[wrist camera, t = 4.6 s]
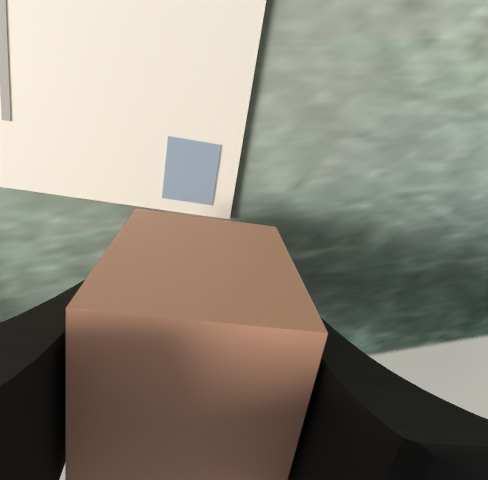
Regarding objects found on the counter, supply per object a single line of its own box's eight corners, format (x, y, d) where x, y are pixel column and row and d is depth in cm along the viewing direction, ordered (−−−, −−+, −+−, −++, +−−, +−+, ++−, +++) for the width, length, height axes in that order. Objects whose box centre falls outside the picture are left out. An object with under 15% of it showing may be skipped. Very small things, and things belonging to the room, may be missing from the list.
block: (127, 330, 13) (65, 499, 8) (135, 208, 12) (65, 307, 6) (252, 341, 14) (280, 506, 8) (275, 226, 12) (328, 333, 7)
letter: (-85, 172, 14) (-93, 174, 14) (-125, -129, 11) (-136, -136, 11) (229, 216, 16) (229, 219, 15) (271, -36, 13) (273, -39, 12)
